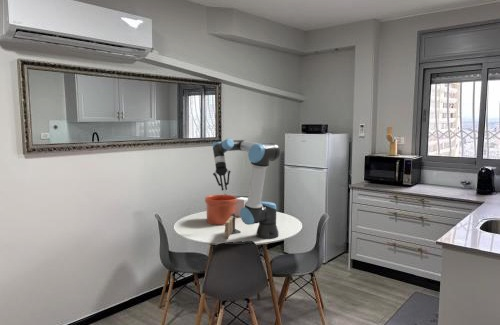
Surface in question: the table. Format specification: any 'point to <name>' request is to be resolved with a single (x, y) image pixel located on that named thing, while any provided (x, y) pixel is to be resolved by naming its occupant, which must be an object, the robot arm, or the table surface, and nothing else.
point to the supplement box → (240, 205)
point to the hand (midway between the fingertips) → (225, 194)
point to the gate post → (234, 224)
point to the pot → (219, 208)
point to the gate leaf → (228, 227)
